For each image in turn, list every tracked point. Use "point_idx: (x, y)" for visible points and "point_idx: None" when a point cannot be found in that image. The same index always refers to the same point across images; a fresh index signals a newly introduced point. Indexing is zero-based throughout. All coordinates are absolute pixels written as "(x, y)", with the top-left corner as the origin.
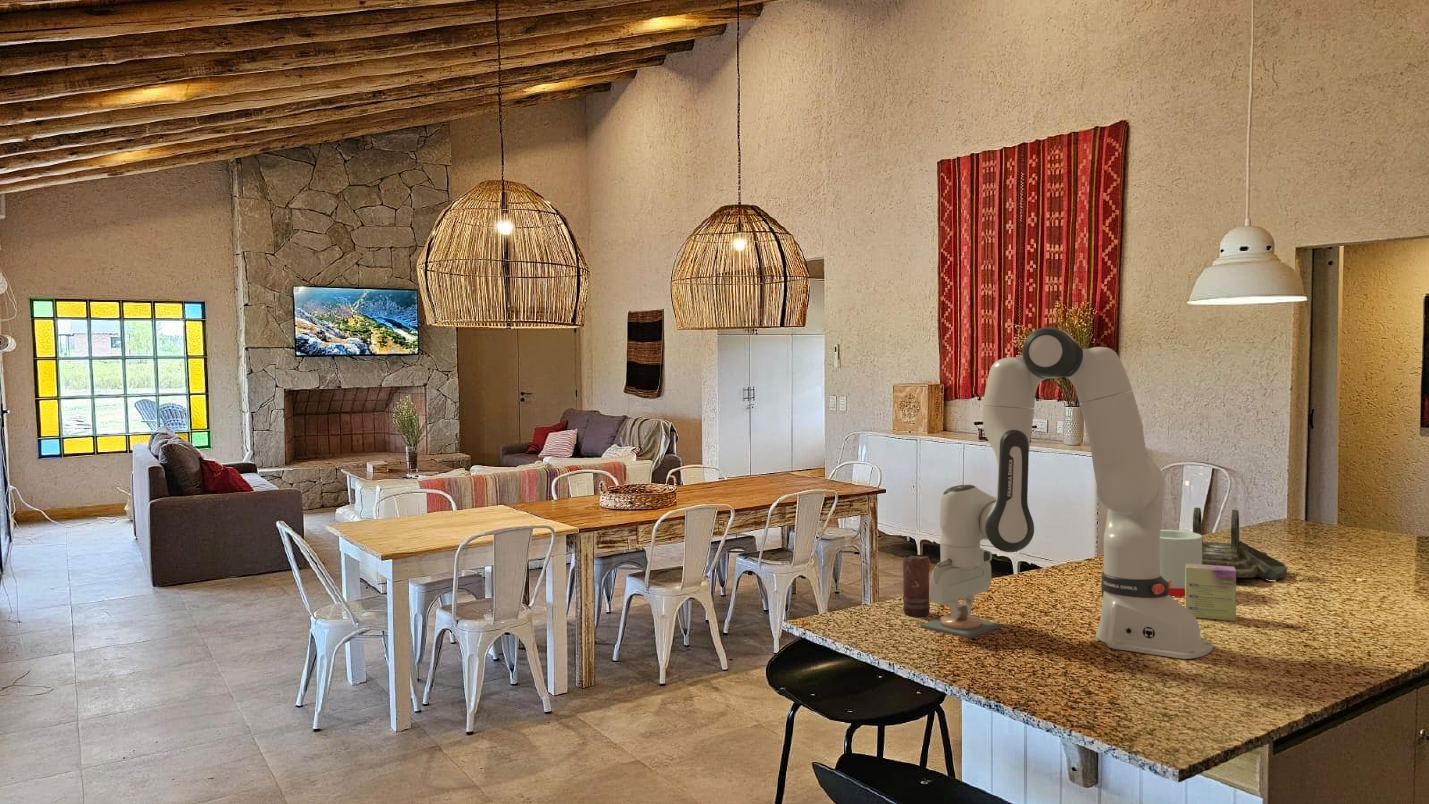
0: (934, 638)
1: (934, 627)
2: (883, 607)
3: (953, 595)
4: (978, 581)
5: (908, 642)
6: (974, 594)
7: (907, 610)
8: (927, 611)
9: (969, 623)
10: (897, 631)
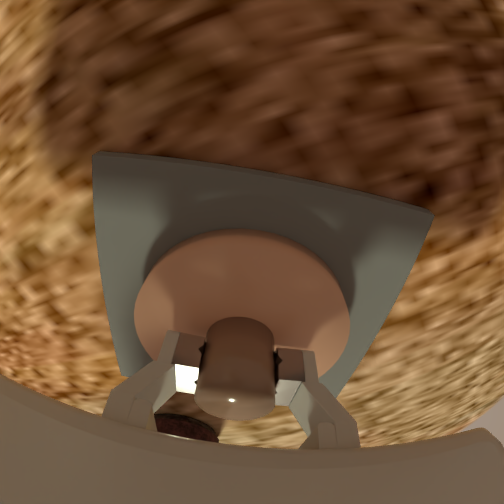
0: (453, 322)
1: (348, 372)
2: None
3: (431, 476)
4: (37, 486)
5: (493, 349)
6: (119, 424)
7: None
8: (175, 425)
9: (307, 283)
10: (394, 409)
